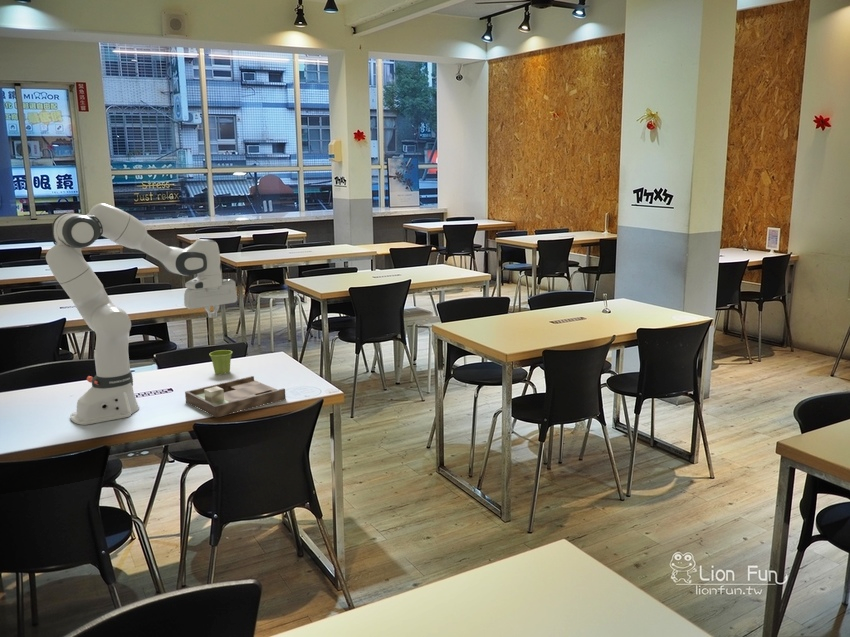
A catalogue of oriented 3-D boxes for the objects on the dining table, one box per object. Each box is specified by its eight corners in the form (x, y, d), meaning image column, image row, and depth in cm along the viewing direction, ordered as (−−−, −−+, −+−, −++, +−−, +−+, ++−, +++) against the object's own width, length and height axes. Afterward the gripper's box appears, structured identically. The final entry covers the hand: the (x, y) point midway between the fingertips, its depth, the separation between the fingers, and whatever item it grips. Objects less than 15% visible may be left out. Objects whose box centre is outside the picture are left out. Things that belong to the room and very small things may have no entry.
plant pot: (230, 375, 302) (228, 355, 300) (207, 376, 302) (206, 355, 300) (236, 369, 311) (235, 349, 309) (214, 369, 311) (213, 350, 309)
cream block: (211, 402, 260) (210, 392, 259) (205, 399, 264) (204, 389, 263) (224, 399, 263) (223, 389, 262) (217, 396, 267) (216, 386, 266)
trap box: (216, 417, 252) (215, 406, 251) (186, 402, 269) (185, 391, 269) (285, 399, 270) (284, 388, 270) (253, 385, 288) (252, 375, 287)
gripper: (231, 277, 284) (233, 312, 287) (180, 283, 271) (184, 320, 274) (238, 279, 279) (241, 314, 282) (188, 285, 266) (191, 322, 269)
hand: (212, 317), depth 278 cm, fingers closed
